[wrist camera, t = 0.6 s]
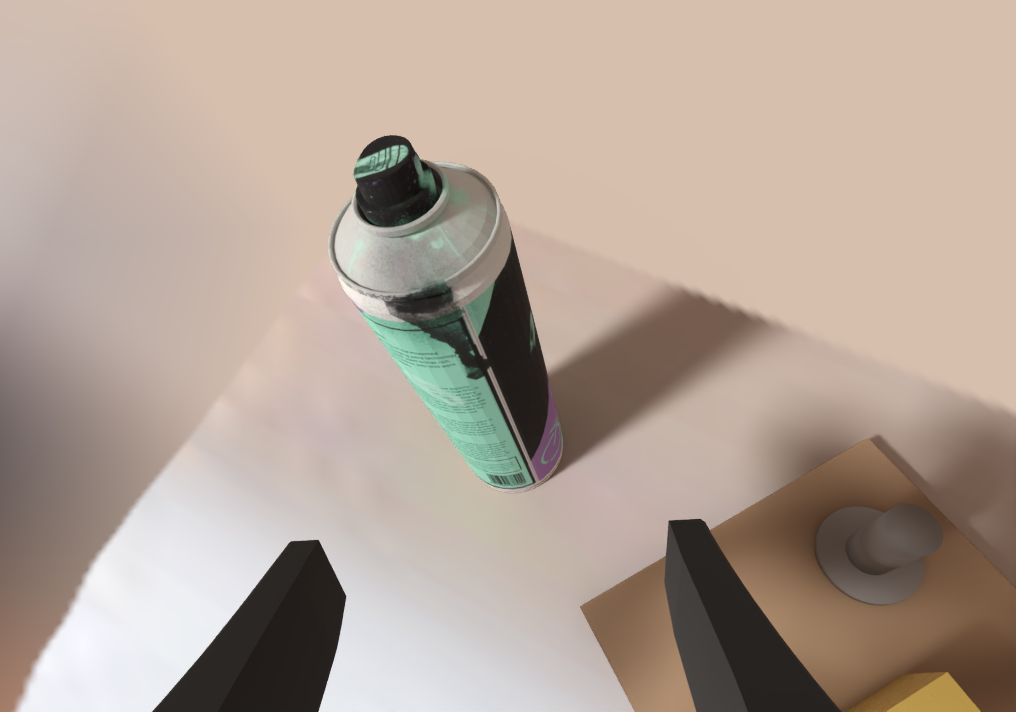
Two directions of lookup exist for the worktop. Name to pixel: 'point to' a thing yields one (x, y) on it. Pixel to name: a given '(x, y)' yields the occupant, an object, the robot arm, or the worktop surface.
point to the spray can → (450, 307)
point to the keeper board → (836, 593)
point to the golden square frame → (918, 695)
